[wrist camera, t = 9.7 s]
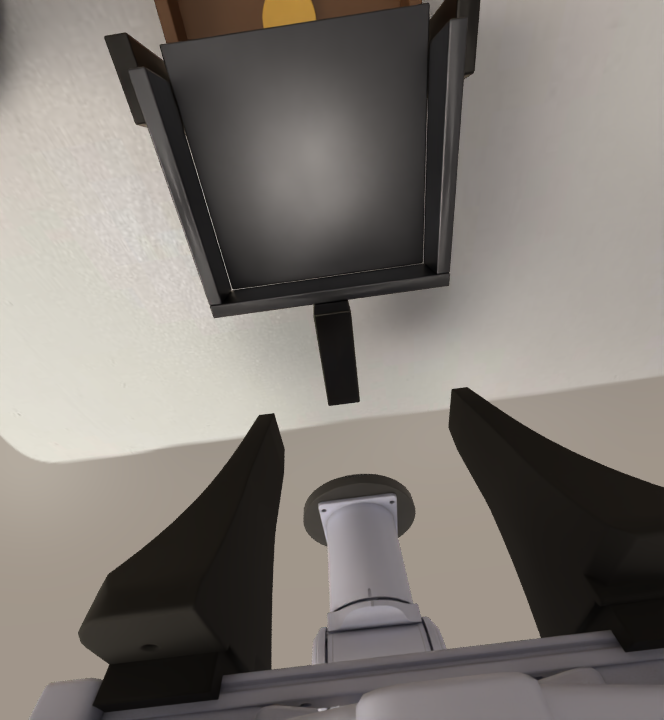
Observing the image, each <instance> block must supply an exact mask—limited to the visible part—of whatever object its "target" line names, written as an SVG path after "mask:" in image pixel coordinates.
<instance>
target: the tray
mask: <svg viewBox="0 0 664 720" xmlns="http://www.w3.org/2000/svg"><path fill="white" fill-rule="evenodd" d="M311 1H312V3H313V6H314V9H315V13H316V20H321V19H327V18H334V17H340V16H346V15H353V14H359V13H366V12H372V11H379V10H385V9H391V8H398V7H404V6H411V5H417V4H422V0H311ZM154 2H155V5H156V9H157V12H158V16H159V19H160V23H161V26H162V29H163V33H164V36H165V40H166V43H173V42H180V41H186V40H193V39H199V38H205V37H212V36H218V35H225V34H231V33H237V32H244V31H250V30H257V29H263V28H264V27H263V20H262V14H263V6H264V3H265V0H154Z"/></svg>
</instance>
